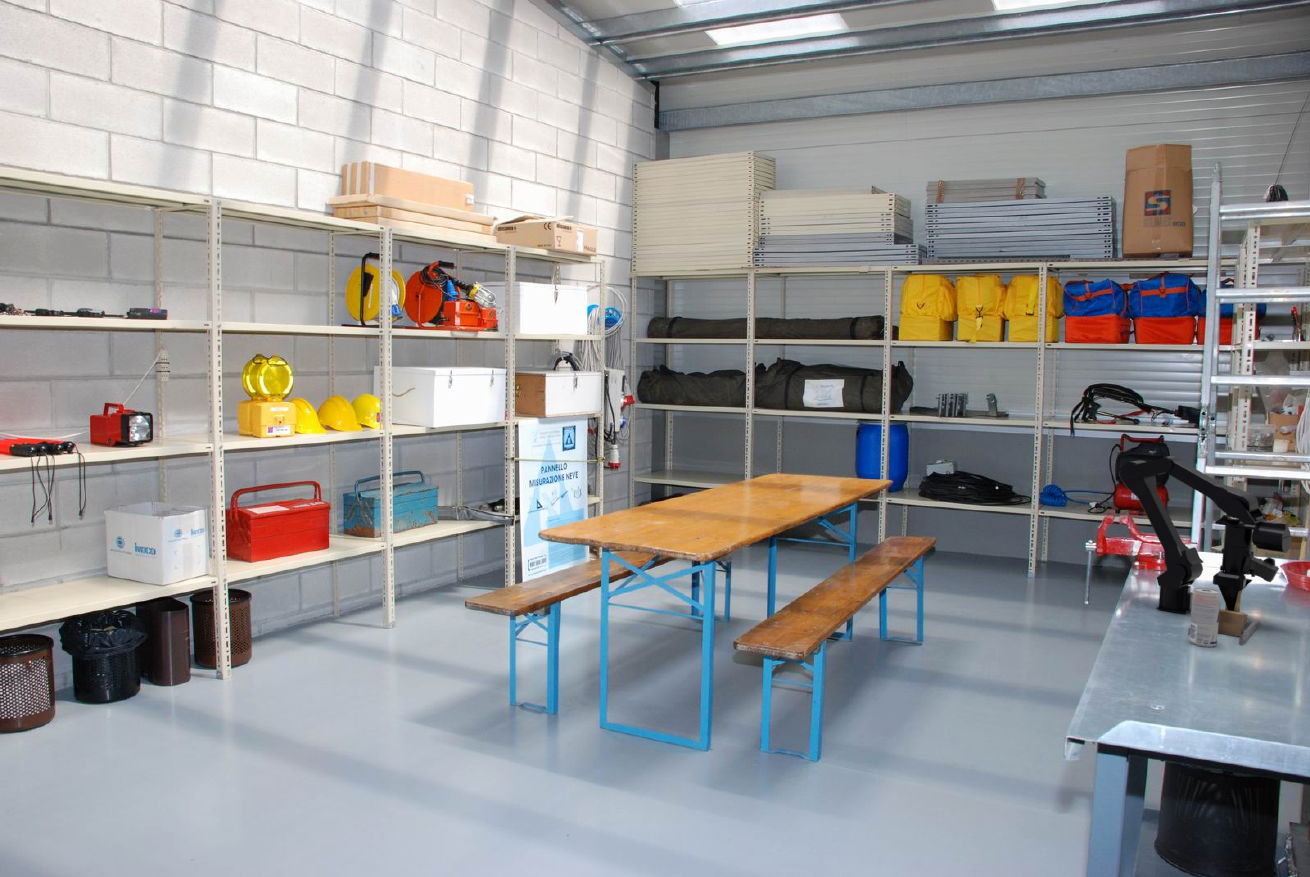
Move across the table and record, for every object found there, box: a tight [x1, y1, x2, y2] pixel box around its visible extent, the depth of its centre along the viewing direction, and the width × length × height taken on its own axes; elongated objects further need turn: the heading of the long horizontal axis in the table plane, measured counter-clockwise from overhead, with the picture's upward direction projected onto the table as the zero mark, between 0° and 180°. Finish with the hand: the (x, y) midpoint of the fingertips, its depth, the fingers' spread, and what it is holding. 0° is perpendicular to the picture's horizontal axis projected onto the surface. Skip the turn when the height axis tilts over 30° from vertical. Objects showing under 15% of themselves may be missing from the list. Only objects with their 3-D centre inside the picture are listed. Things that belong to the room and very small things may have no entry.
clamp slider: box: [1218, 591, 1249, 637], centre depth 228 cm, size 8×14×8 cm, turn 140°
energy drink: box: [1188, 587, 1222, 648], centre depth 215 cm, size 5×5×12 cm
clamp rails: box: [1187, 619, 1259, 646], centre depth 225 cm, size 11×19×2 cm, turn 140°
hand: (1232, 609), depth 233 cm, fingers closed on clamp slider, 3 cm apart
